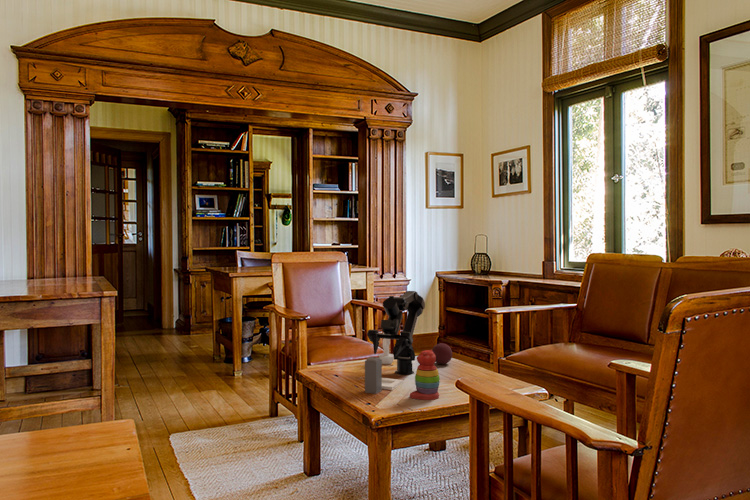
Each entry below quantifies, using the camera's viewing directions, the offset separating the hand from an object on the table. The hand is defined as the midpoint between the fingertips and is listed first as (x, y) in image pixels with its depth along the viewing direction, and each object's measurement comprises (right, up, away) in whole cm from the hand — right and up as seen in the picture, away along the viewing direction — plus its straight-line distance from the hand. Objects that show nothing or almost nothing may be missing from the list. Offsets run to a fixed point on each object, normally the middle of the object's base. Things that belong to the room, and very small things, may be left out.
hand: (385, 354), depth 222 cm
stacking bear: (+16, -14, -13) cm, 25 cm away
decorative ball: (+28, -13, +41) cm, 52 cm away
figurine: (+1, -13, +44) cm, 45 cm away
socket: (0, -13, +4) cm, 14 cm away
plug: (-5, -13, -6) cm, 16 cm away
